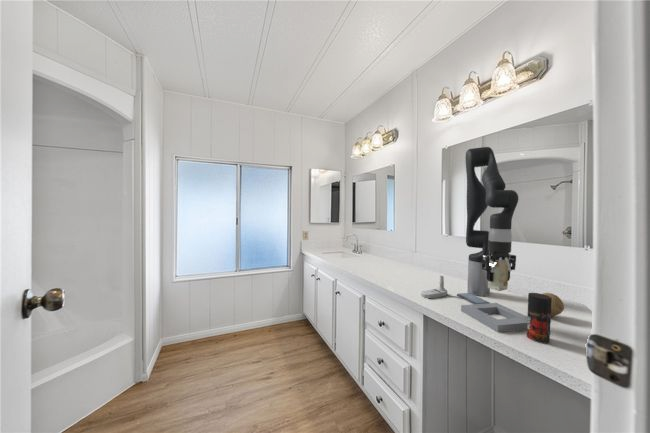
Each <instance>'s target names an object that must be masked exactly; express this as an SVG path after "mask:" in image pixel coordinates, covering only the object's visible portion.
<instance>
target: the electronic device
mask: <svg viewBox="0 0 650 433" xmlns="http://www.w3.org/2000/svg"><path fill="white" fill-rule="evenodd" d="M444 281H445V280H444V276H443V275H439V284H438V285H439V287H438V288H437V287H436V288H434V289H433V288H432V289H426V290H421V291H420V297H421V296H422V297H421V298H423V297H424V298H423V299H426V298H431V299H435V298H436V297H437V298H442V297H447V296H448V290H447V289H445V283H444ZM437 298H436V299H437Z"/></svg>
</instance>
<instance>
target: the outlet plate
mask: <svg viewBox="0 0 650 433" xmlns="http://www.w3.org/2000/svg"><path fill="white" fill-rule="evenodd" d="M460 311H461V312H462V313H463V314H466V315H467V316H469V317H471V318H472V319H474V320H476V321H477V322H480V323H481V324H483V325H485V326H486V327H488V328H490V329H492V330H494V331H495V332H497V333H501V332H513V331H522V330H527V315H524V314H523V313H521V312H518V311H516V310H514V309H511V308H509V307H507V306H505V305H502V304H501V303H498V302H490V303H486V304H473V303H471V304H461V305H460ZM494 313H496V314H498V315H500V316H502V317H505V318H500V319H497V318H496V317H493V316H492V315H489V314H494Z"/></svg>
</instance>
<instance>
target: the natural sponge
mask: <svg viewBox="0 0 650 433" xmlns="http://www.w3.org/2000/svg"><path fill="white" fill-rule="evenodd" d="M542 294H544V295H547V296H550V297H551V298H552V301H551V318H553V317H556V316H558V315H560V314H562V312H563V311H564V309H565V305H564V302H563V300H562V299H561V297H559V296H558V295H555V294H554V293H551V292H543V293H542Z"/></svg>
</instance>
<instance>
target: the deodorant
mask: <svg viewBox="0 0 650 433" xmlns="http://www.w3.org/2000/svg"><path fill="white" fill-rule="evenodd" d="M551 301H552V298H551V297H550V296H547V295H544V294H543V293H539V292H529V293H528V297H527V315H526V316H527V329H526V337H527V338H528V339H529V340H531V341H532V342H536V343H538V344H539V343H540V344H546V345H547V344H549V343H550V338H551V320H552V319H551V318H552V317H551Z"/></svg>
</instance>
